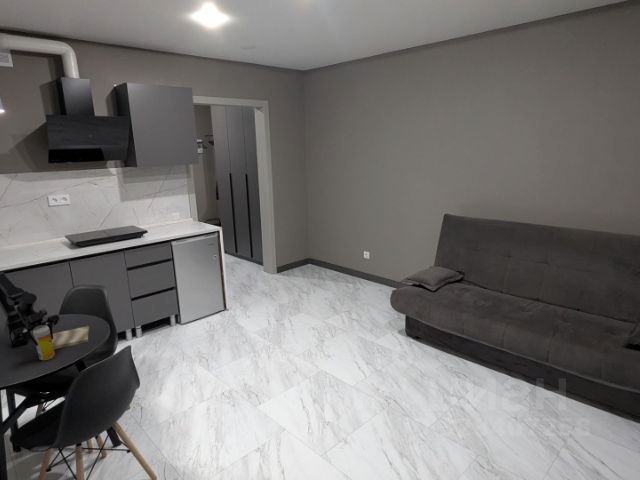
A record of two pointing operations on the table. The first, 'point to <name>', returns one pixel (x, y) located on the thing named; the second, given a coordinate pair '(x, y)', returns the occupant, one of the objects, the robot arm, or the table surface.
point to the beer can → (44, 342)
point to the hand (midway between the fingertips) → (45, 342)
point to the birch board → (70, 337)
